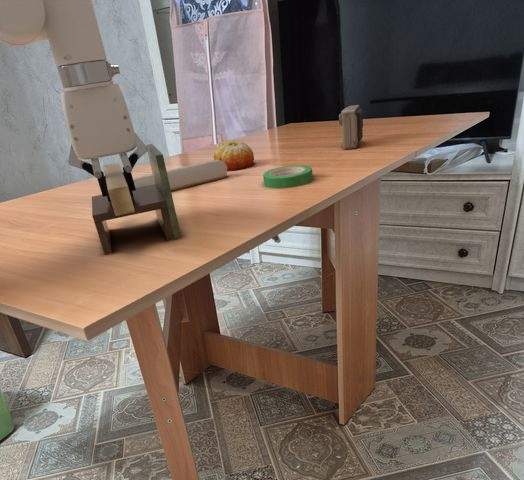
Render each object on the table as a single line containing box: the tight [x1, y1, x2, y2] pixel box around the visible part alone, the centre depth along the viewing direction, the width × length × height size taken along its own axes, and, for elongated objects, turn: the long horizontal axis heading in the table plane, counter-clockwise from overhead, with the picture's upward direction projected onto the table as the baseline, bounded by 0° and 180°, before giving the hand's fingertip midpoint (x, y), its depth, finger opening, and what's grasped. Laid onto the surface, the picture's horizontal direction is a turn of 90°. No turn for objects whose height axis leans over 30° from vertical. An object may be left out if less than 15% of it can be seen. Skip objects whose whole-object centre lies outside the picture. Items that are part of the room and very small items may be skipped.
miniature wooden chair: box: [91, 143, 182, 256], centre depth 82 cm, size 13×15×14 cm
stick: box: [103, 162, 135, 216], centre depth 81 cm, size 3×24×4 cm, turn 18°
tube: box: [133, 159, 228, 192], centre depth 114 cm, size 5×5×25 cm
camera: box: [338, 104, 364, 150], centre depth 132 cm, size 11×6×10 cm, turn 162°
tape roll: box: [262, 164, 314, 189], centre depth 105 cm, size 11×11×3 cm
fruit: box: [213, 141, 255, 172], centre depth 127 cm, size 11×10×8 cm
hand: (120, 196), depth 82 cm, fingers closed on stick, 3 cm apart
